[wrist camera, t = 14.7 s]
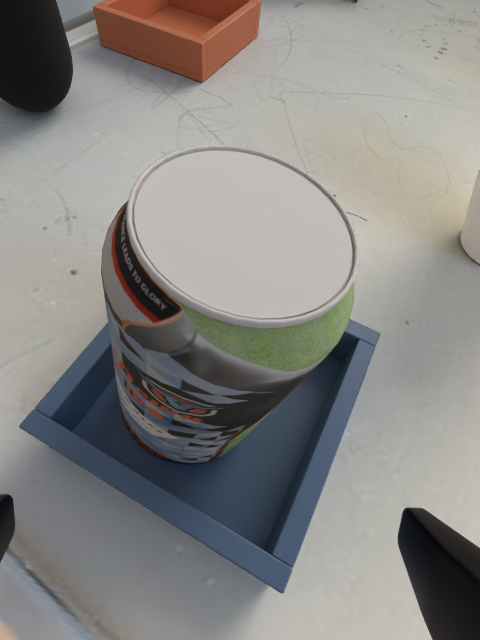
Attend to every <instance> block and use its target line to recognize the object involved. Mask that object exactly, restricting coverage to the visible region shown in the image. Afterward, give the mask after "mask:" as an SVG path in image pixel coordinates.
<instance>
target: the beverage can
mask: <svg viewBox="0 0 480 640" xmlns="http://www.w3.org/2000/svg"><path fill="white" fill-rule="evenodd" d="M358 265H359V247H358V241H357V236H356V233H355V230H354V228H353V225H352V223H351V220H350V219H349V217H348V215H347V214H346V212H345V210H344V208H343V207H342V206H341V204H340V203H339V202H338V201H337V199H336V198H335V197H334V196H333V195H332V194H331V193H330V192H329V191H328V190H327V189H326V188H325V187H324V186H323V185H322V184H321V183H320V182H318V181H317V180H316V179H314V178H313V177H312V176H311V175H309V174H308V173H306V172H305V171H303V170H301V169H300V168H298V167H296V166H295V165H293V164H291V163H289V162H287V161H285V160H283V159H280V158H278V157H276V156H273V155H270V154H267V153H264V152H261V151H258V150H253V149H249V148H245V147H238V146H230V145H204V146H195V147H190V148H186V149H182V150H178V151H175V152H173V153H171V154H169V155H166V156H164V157H162V158H160V159H159V160H158V161H156V162H155V163H153V164H152V165H150V166H149V167H148V168H147V169H146V170H145V171H144V172H143V173H142V174H141V175H140V177H139V178H138V180H137V181H136V183H135V185H134V187H133V188H132V190H131V193H130V197H129V200H128V201H127V202H126V203H125V204H124V205H123V206H122V207H121V209H120V210H119V211H118V213H117V215H116V217H115V218H114V220H113V222H112V223H111V225H110V227H109V229H108V232H107V235H106V239H105V242H104V245H103V249H102V264H101V274H102V281H103V288H104V296H105V303H106V310H107V317H108V324H109V331H110V338H111V345H112V353H113V360H114V367H115V374H116V381H117V388H118V395H119V402H120V408H121V414H122V418H123V420H124V423H125V425H126V428H127V429H128V431H129V433H130V434H131V436H132V437H133V439H134V440H135V441H136V442H137V443H138V444H139V445H140V446H141V447H142V448H143V449H144V450H146V451H147V452H149V453H150V454H151V455H153V456H155V457H157V458H159V459H161V460H163V461H167V462H171V463H174V464H183V465H194V464H203V463H206V462H209V461H212V460H215V459H217V458H219V457H221V456H223V455H225V454H226V453H228V452H229V451H230V450H232V449H233V448H234V447H235V446H236V445H237V444H238V443H239V442H240V441H241V440H242V439H243V438H245V437H246V436H247V435H248V434H249V433H250V432H251V431H252V430H253V429H254V428H255V427H256V426H257V425H258V424H259V423H260V422H261V421H262V420H263V419H264V418H265V417H266V416H267V415H268V414H269V413H270V412H271V411H272V410H273V409H274V408H275V407H276V406H277V405H278V404H279V403H280V402H281V401H282V400H283V399H284V398H285V397H286V396H287V395H288V394H289V393H290V392H291V391H292V390H293V389H294V388H295V387H296V386H297V385H298V384H299V383H300V382H301V381H302V380H303V379H304V378H305V377H306V376H307V375H308V374H309V373H310V372H311V371H312V370H313V369H314V368H315V367H316V366H317V365H318V364H319V363H320V362H321V361H322V360H323V359H324V358H325V357H326V356H327V355H328V354H329V353H330V352H331V350H332V349H333V348H334V347H335V346H336V345H337V343H338V342H339V340H340V338H341V336H342V334H343V333H344V331H345V329H346V327H347V325H348V322H349V318H350V315H351V311H352V307H353V299H354V279H355V276H356V272H357V269H358Z"/></svg>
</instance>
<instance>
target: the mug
mask: <svg viewBox="0 0 480 640" xmlns="http://www.w3.org/2000/svg"><path fill="white" fill-rule="evenodd" d="M460 239H461V244H462V246H463V248H464V250H465V252H466V253H467V254H468V255H469V256H470V257H471V258H472V259H473V260H474V261H476V262H477V263H479V264H480V168H479V171H478V175H477V178H476V181H475V185H474V188H473V192H472V196H471V199H470V203H469V206H468V210H467V214H466V217H465V221H464V224H463V228H462V231H461V237H460Z"/></svg>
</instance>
